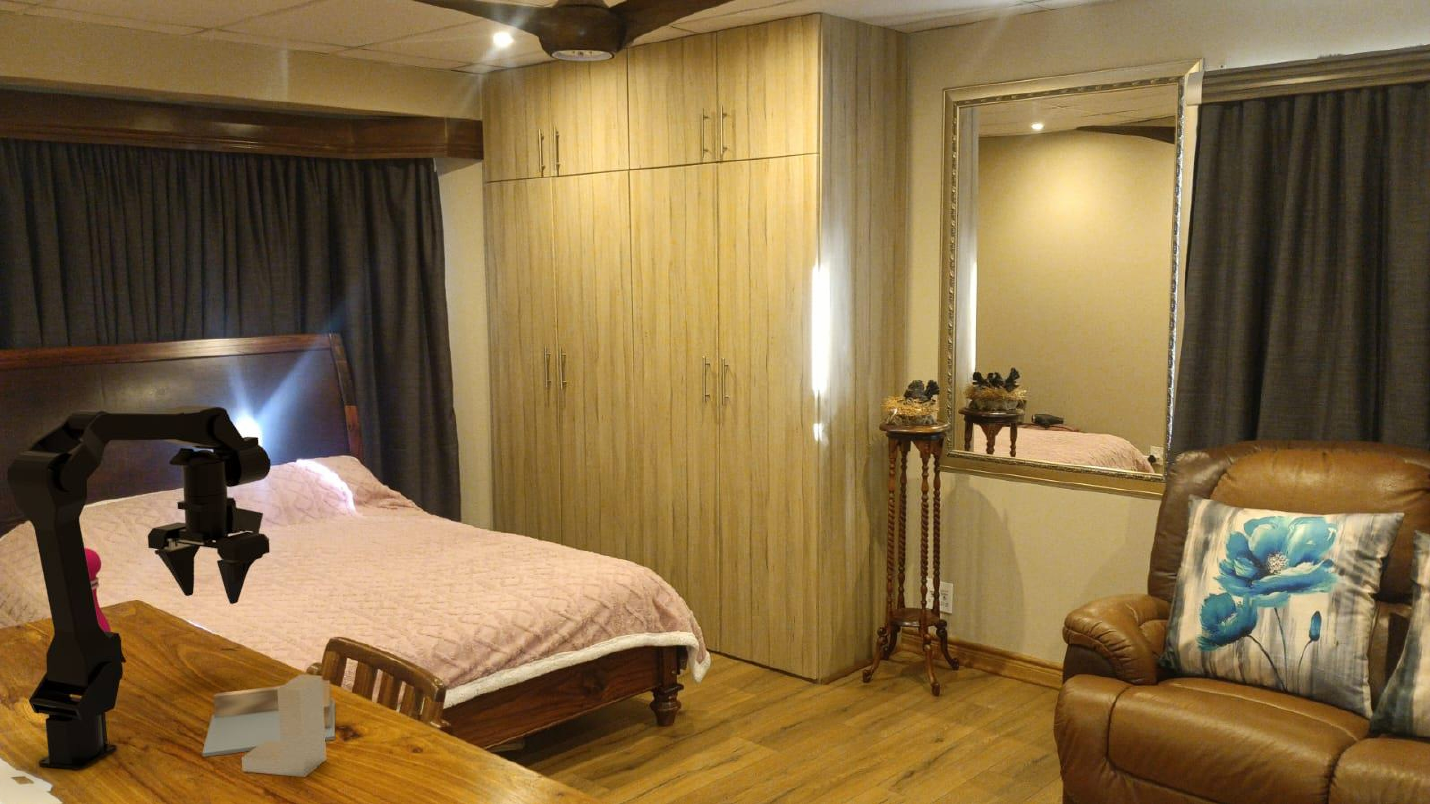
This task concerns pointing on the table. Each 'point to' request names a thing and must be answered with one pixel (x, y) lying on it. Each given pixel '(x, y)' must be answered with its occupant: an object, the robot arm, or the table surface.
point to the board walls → (261, 702)
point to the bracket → (294, 732)
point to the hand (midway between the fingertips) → (211, 599)
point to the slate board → (248, 732)
